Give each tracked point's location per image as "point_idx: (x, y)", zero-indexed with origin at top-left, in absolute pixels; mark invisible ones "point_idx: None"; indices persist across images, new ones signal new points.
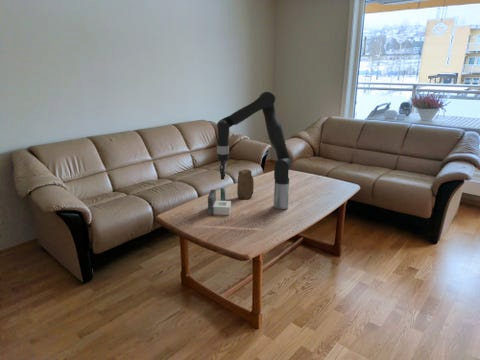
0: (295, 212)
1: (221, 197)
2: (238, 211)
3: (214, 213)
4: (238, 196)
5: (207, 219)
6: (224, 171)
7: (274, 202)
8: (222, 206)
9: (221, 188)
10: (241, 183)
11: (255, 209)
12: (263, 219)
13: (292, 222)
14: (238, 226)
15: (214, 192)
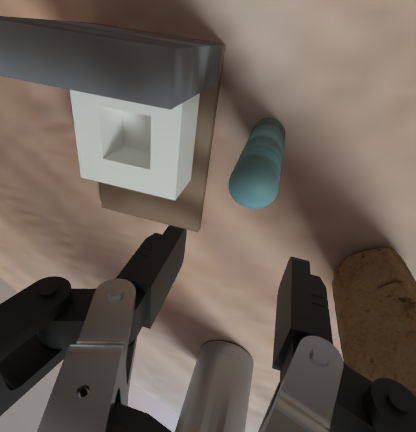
0: (178, 371)
1: (247, 143)
2: None
3: None
4: (375, 251)
5: (60, 19)
6: (127, 370)
7: (213, 360)
8: (85, 135)
9: (259, 172)
10: (361, 344)
11: (203, 279)
12: (112, 278)
13: None
14: (34, 181)
15: (96, 91)
